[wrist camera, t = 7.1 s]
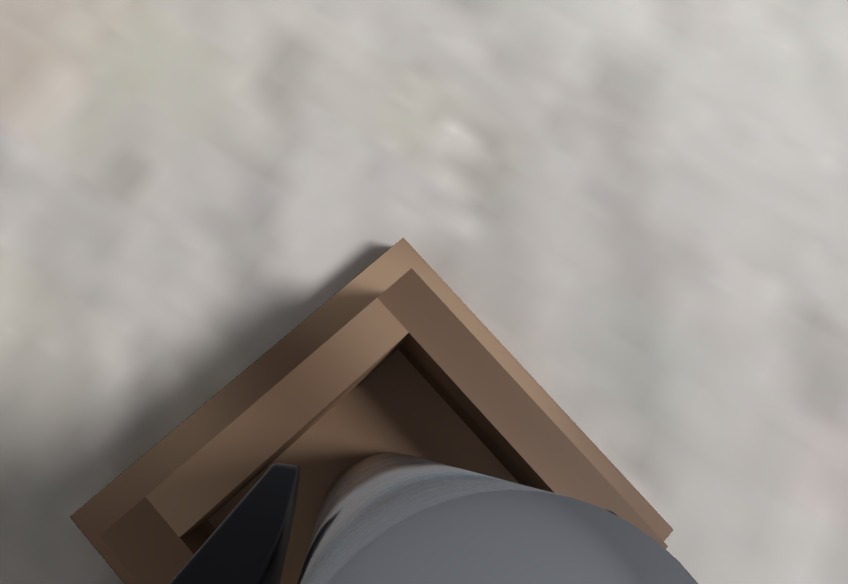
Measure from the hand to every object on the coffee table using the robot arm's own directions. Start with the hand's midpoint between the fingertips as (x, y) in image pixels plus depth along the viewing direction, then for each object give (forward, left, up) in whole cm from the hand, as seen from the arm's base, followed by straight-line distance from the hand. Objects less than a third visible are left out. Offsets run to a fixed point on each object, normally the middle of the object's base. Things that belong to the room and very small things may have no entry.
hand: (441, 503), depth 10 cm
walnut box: (-1, -1, -9) cm, 9 cm away
